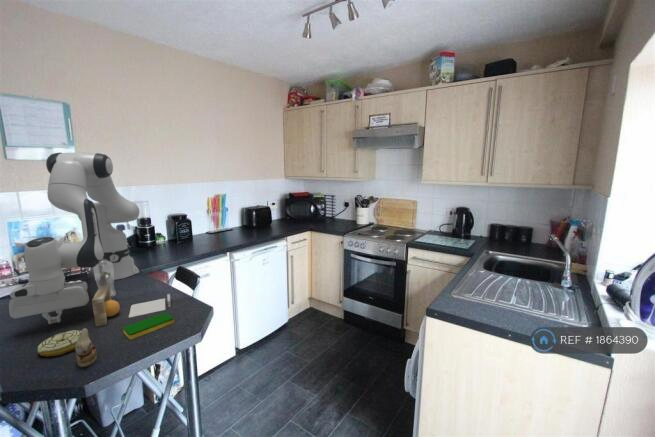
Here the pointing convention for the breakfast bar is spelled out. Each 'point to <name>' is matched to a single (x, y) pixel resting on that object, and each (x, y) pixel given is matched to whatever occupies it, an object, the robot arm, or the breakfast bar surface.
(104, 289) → the bridge
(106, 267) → the beer glass
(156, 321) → the dish sponge
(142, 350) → the breakfast bar surface
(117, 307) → the ball
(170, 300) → the stopper
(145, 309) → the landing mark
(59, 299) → the robot arm
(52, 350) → the decorated donut
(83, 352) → the chocolate bunny
